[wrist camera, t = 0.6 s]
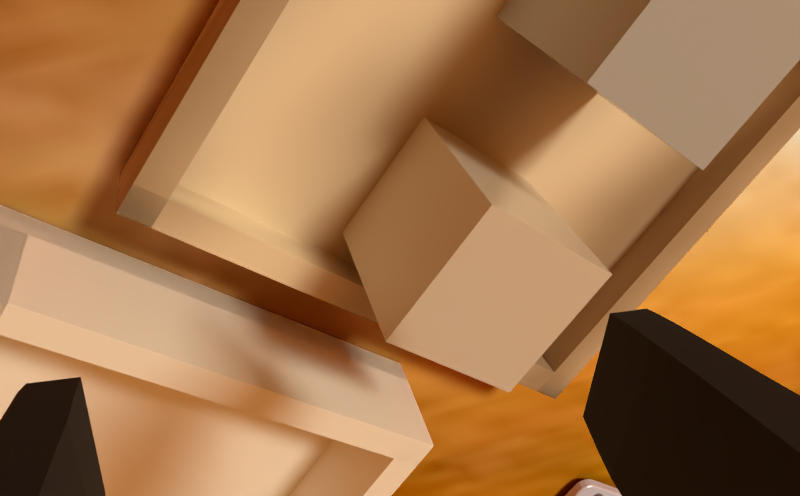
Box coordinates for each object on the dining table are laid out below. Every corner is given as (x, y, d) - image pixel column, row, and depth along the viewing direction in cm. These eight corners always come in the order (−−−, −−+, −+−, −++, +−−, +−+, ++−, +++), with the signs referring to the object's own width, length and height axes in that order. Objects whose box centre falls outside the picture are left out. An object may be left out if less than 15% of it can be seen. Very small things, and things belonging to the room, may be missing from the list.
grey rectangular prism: (695, -32, 18) (835, 18, 14) (597, 93, 19) (703, 170, 15) (597, -128, 16) (728, -100, 12) (495, 16, 17) (587, 82, 13)
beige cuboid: (527, 181, 20) (612, 274, 16) (448, 283, 21) (509, 392, 17) (424, 116, 18) (492, 204, 14) (342, 232, 19) (385, 342, 15)
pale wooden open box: (400, 363, 23) (433, 445, 20) (210, 601, 27) (216, 699, 24) (-2, 203, 17) (-35, 288, 14) (-176, 537, 21) (-230, 657, 18)
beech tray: (820, 20, 21) (877, 41, 19) (529, 357, 24) (555, 398, 23) (442, -388, 14) (480, -411, 12) (120, 173, 18) (116, 213, 16)
